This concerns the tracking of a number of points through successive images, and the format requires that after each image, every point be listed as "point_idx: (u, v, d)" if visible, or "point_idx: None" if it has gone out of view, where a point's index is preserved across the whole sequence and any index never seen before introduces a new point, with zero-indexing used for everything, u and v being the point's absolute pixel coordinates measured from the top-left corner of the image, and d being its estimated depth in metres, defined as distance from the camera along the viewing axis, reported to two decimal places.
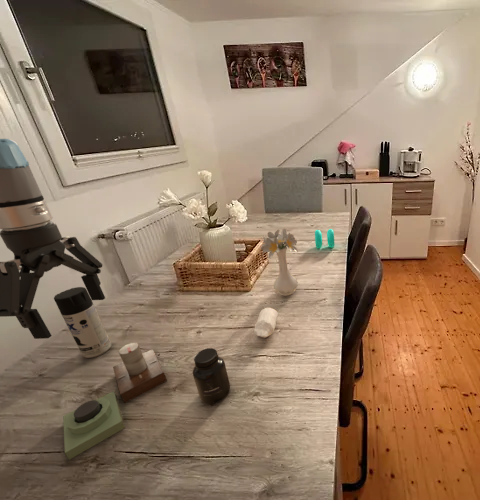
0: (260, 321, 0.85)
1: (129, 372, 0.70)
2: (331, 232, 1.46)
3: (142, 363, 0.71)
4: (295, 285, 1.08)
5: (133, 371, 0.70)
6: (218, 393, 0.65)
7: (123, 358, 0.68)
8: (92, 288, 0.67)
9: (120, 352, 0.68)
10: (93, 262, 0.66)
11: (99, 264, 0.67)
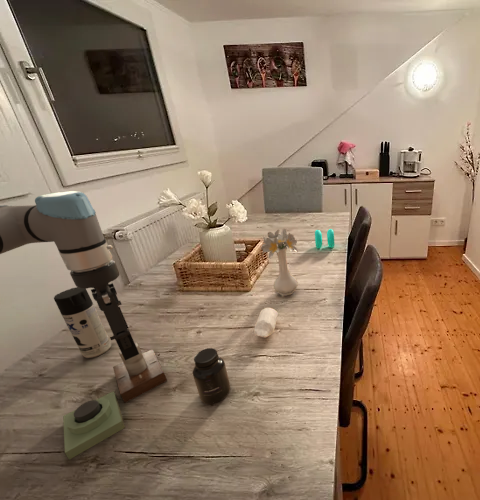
0: (260, 321, 0.85)
1: (129, 372, 0.70)
2: (331, 232, 1.46)
3: (142, 363, 0.71)
4: (295, 285, 1.08)
5: (133, 371, 0.70)
6: (218, 393, 0.65)
7: (123, 358, 0.68)
8: None
9: (120, 352, 0.68)
10: None
11: None
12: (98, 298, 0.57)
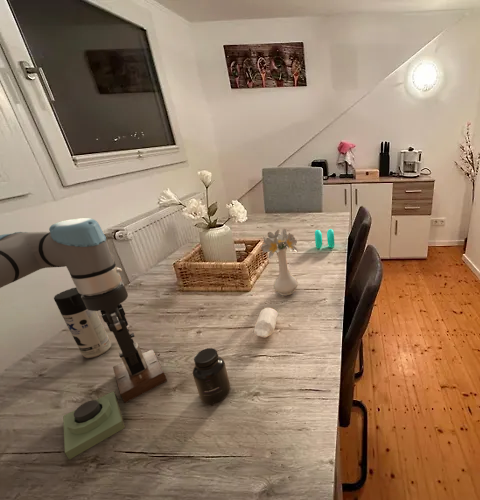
0: (260, 321, 0.85)
1: (129, 372, 0.70)
2: (331, 232, 1.46)
3: None
4: (295, 285, 1.08)
5: None
6: (218, 393, 0.65)
7: (123, 358, 0.68)
8: None
9: (120, 352, 0.68)
10: None
11: (127, 329, 0.73)
12: (111, 327, 0.60)
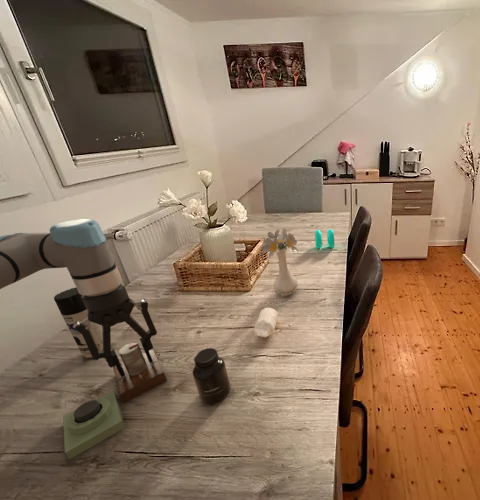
0: (260, 321, 0.85)
1: (142, 367, 0.71)
2: (331, 232, 1.46)
3: None
4: (295, 285, 1.08)
5: (145, 363, 0.72)
6: (218, 393, 0.65)
7: (137, 353, 0.70)
8: (119, 362, 0.69)
9: (131, 351, 0.68)
10: None
11: None
12: (147, 303, 0.69)
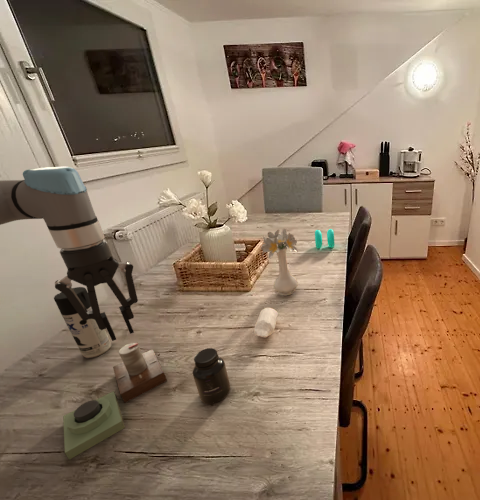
0: (260, 321, 0.85)
1: (142, 367, 0.71)
2: (331, 232, 1.46)
3: None
4: (295, 285, 1.08)
5: (145, 363, 0.72)
6: (218, 393, 0.65)
7: (137, 353, 0.70)
8: (110, 325, 0.66)
9: (131, 351, 0.68)
10: None
11: None
12: (132, 265, 0.65)
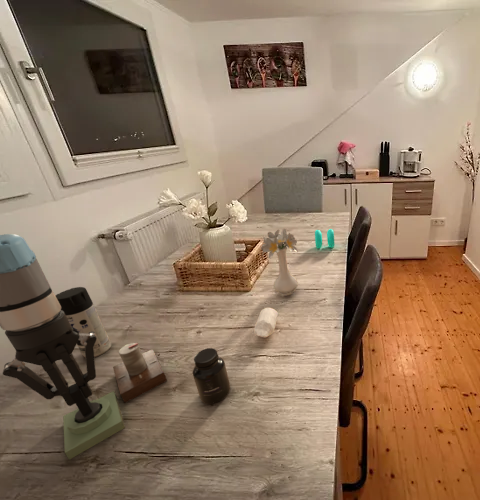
0: (260, 321, 0.85)
1: (142, 367, 0.71)
2: (331, 232, 1.46)
3: None
4: (295, 285, 1.08)
5: (145, 363, 0.72)
6: (218, 393, 0.65)
7: (137, 353, 0.70)
8: None
9: (131, 351, 0.68)
10: None
11: None
12: (95, 338, 0.57)
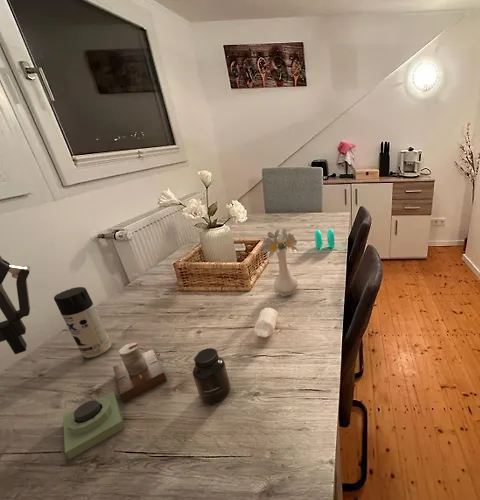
0: (260, 321, 0.85)
1: (142, 367, 0.71)
2: (331, 232, 1.46)
3: None
4: (295, 285, 1.08)
5: (145, 363, 0.72)
6: (218, 393, 0.65)
7: (137, 353, 0.70)
8: None
9: (131, 351, 0.68)
10: None
11: None
12: (28, 271, 0.54)
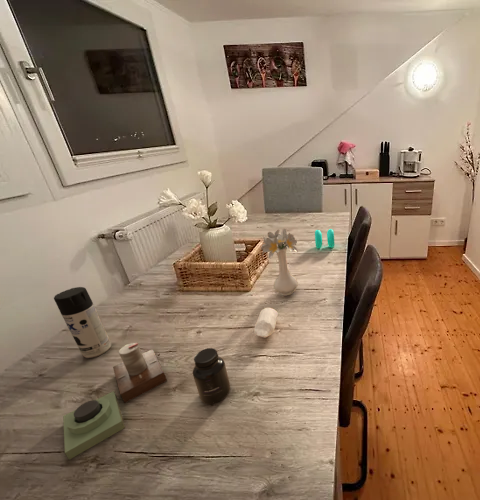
0: (260, 321, 0.85)
1: (142, 367, 0.71)
2: (331, 232, 1.46)
3: None
4: (295, 285, 1.08)
5: (145, 363, 0.72)
6: (218, 393, 0.65)
7: (137, 353, 0.70)
8: None
9: (131, 351, 0.68)
10: None
11: None
12: None
